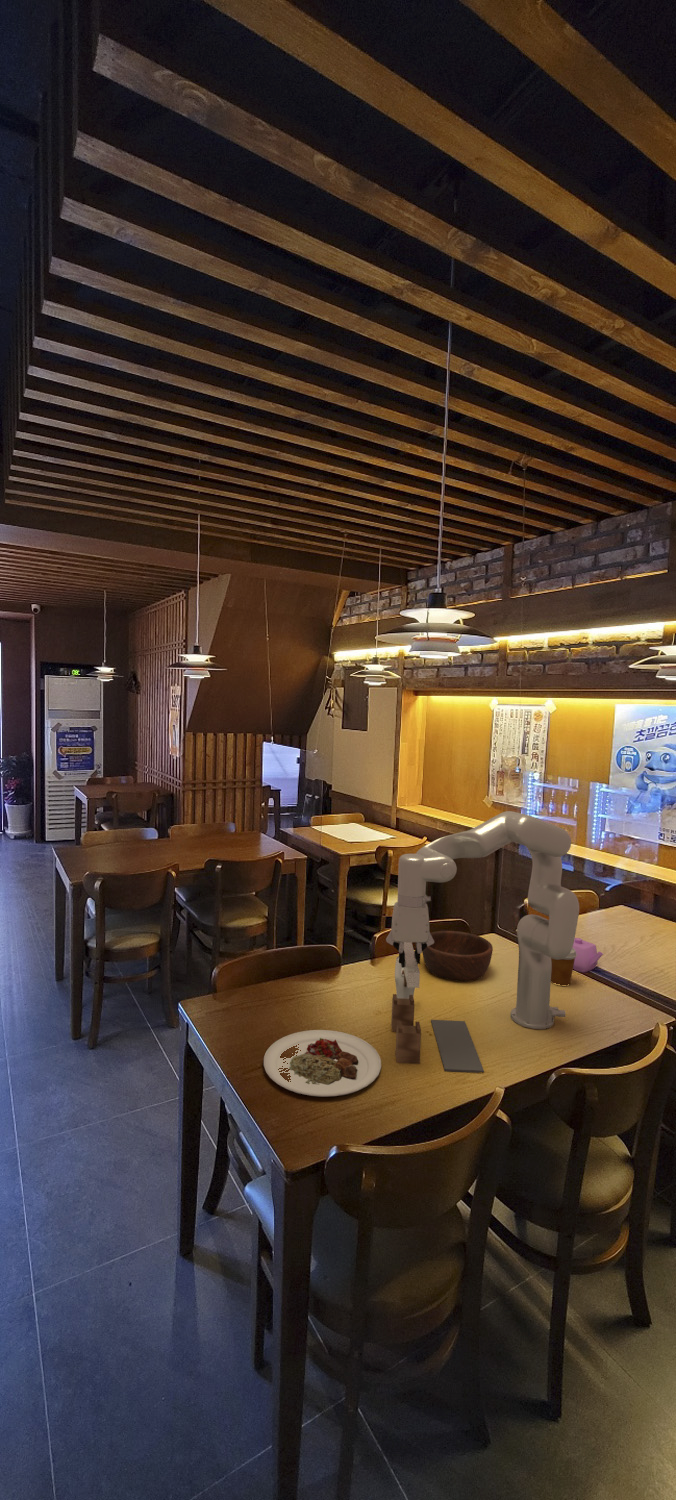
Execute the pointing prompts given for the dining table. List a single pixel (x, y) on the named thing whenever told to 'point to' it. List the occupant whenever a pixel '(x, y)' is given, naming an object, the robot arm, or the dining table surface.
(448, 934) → the wooden bowl
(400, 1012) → the post
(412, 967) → the rail
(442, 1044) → the mat
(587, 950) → the teapot
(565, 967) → the disposable coffee cup
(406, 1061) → the post
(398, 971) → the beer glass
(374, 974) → the dining table surface
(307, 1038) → the plated food
